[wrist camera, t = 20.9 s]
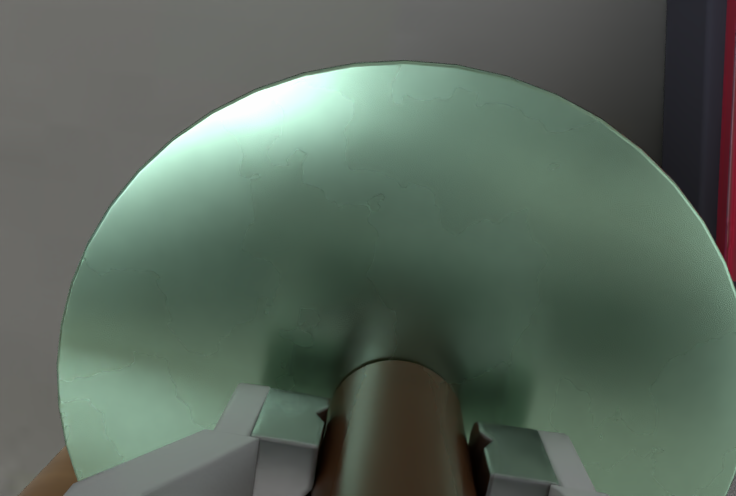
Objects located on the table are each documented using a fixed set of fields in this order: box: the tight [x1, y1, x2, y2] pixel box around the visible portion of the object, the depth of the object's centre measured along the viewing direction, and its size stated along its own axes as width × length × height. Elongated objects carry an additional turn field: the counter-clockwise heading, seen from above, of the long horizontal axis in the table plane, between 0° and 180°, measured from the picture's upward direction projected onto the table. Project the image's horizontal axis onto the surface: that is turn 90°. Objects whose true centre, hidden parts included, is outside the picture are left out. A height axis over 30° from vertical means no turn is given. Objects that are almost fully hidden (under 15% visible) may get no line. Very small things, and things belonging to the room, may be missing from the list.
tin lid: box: [57, 60, 736, 496], centre depth 10 cm, size 12×12×6 cm
